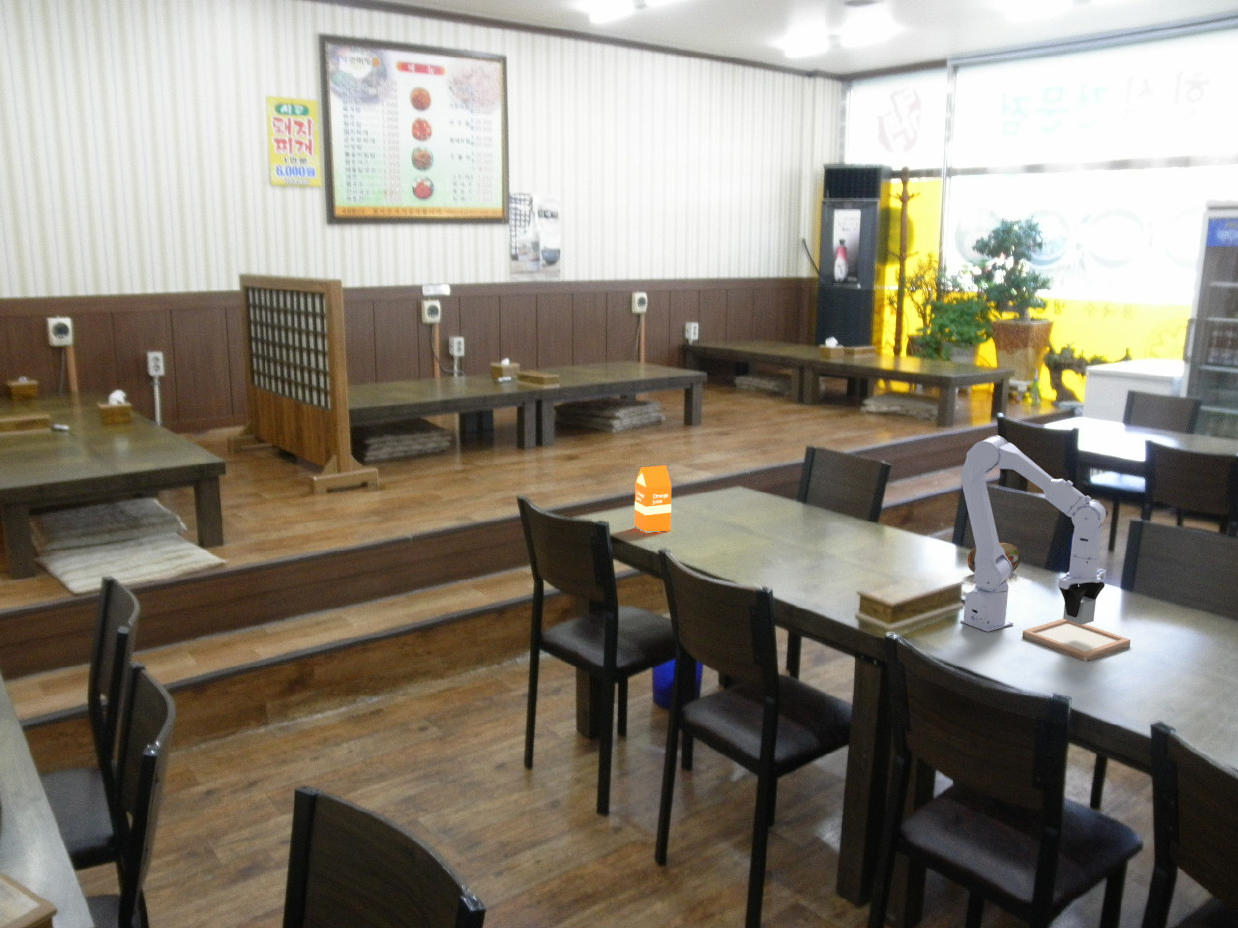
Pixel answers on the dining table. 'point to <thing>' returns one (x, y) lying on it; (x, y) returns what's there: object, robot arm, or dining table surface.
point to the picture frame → (1076, 639)
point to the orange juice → (653, 499)
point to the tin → (1010, 553)
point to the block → (1083, 612)
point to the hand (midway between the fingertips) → (1078, 613)
